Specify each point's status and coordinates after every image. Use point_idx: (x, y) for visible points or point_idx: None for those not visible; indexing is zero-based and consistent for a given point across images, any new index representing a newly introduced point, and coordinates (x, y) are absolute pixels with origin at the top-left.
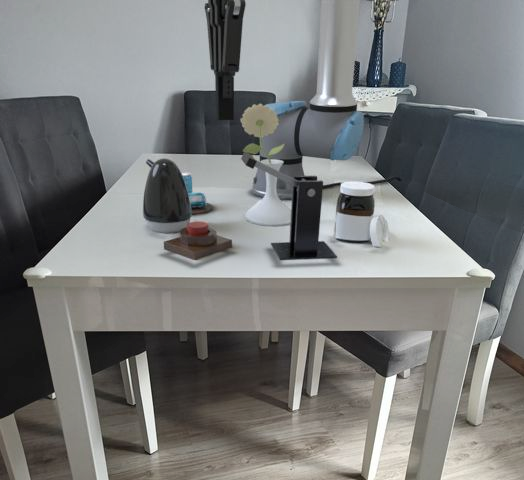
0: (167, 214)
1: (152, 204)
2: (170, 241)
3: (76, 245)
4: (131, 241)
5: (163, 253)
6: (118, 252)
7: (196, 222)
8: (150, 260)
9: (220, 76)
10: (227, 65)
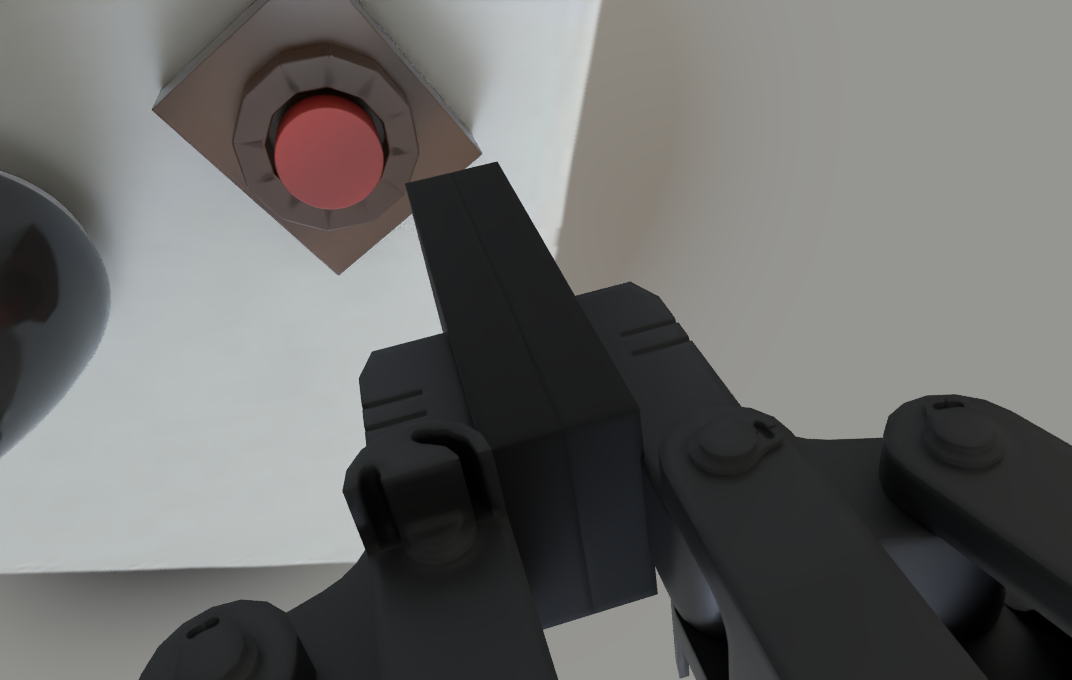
0: (98, 297)
1: (71, 386)
2: (336, 249)
3: (223, 531)
4: (159, 379)
5: (311, 254)
6: (298, 402)
7: (295, 164)
8: (390, 293)
9: (650, 568)
10: (1015, 596)
